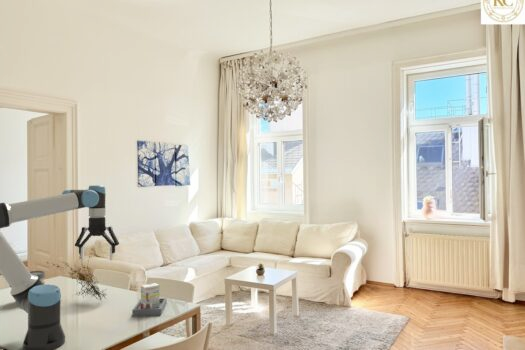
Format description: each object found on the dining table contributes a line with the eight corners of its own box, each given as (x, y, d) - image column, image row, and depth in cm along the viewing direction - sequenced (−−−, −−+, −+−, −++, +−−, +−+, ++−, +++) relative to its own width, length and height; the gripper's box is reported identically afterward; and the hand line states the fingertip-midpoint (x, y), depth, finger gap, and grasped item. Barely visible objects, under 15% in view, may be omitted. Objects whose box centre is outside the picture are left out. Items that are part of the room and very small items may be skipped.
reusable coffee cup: (36, 302, 215) (36, 275, 215) (14, 303, 215) (14, 276, 215) (49, 296, 227) (49, 270, 227) (28, 296, 227) (28, 270, 228)
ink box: (143, 310, 197) (143, 287, 197) (140, 308, 201) (140, 285, 201) (159, 307, 202) (159, 284, 203) (156, 304, 206) (156, 282, 206)
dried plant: (128, 270, 213) (93, 231, 240) (70, 287, 190) (38, 242, 217) (121, 314, 223) (88, 272, 250) (65, 335, 200) (35, 286, 227)
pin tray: (161, 314, 194) (161, 303, 194) (132, 316, 192) (132, 304, 192) (166, 303, 211) (166, 293, 212) (140, 304, 210) (140, 294, 210)
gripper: (125, 215, 193) (125, 258, 193) (73, 216, 191) (73, 259, 191) (121, 217, 186) (121, 261, 186) (67, 217, 184) (67, 262, 183)
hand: (97, 260), depth 188 cm, fingers open, 13 cm apart
